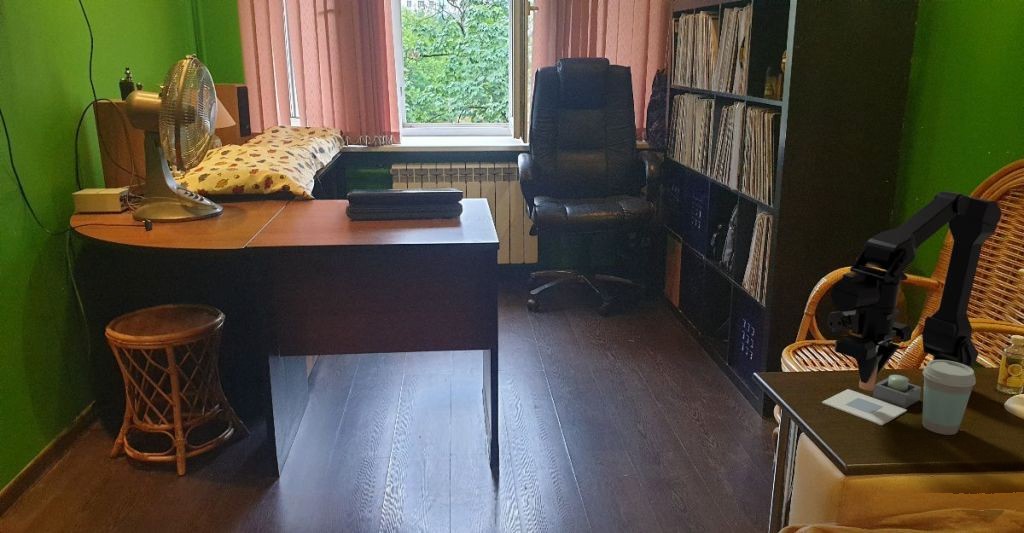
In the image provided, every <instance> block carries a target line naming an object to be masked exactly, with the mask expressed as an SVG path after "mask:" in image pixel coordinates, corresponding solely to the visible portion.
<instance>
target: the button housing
mask: <svg viewBox="0 0 1024 533" xmlns="http://www.w3.org/2000/svg"><path fill="white" fill-rule="evenodd" d="M888 381H889V376H888V377H887V378H884V379H883V380H880V381H878V382H877V383H875V389H874V390H872V391H873V392H872V398H875V399H878V400H881V401H883V402H886V403H889V404H892V405H895V406H898V407H901V408H903V409H907V408H908V407H910V406H911V405H913V404H915V403H917V402H919V401H920V399H921V393H922V387H921V386H919V385H916V384H913V383H910V382H909V385H908V391H907V392H905V393H903V392H900V391H897V390H894V389H891V388H888Z"/></svg>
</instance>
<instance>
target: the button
mask: <svg viewBox="0 0 1024 533" xmlns="http://www.w3.org/2000/svg"><path fill="white" fill-rule="evenodd" d="M888 377H889V381H888V388H891V389H894V390H897V391H900V392H903V393H905V392H907V391H908V385H909V383H910V379H909V378H908V377H906V376H904V375H900V374H890V375H888Z"/></svg>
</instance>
